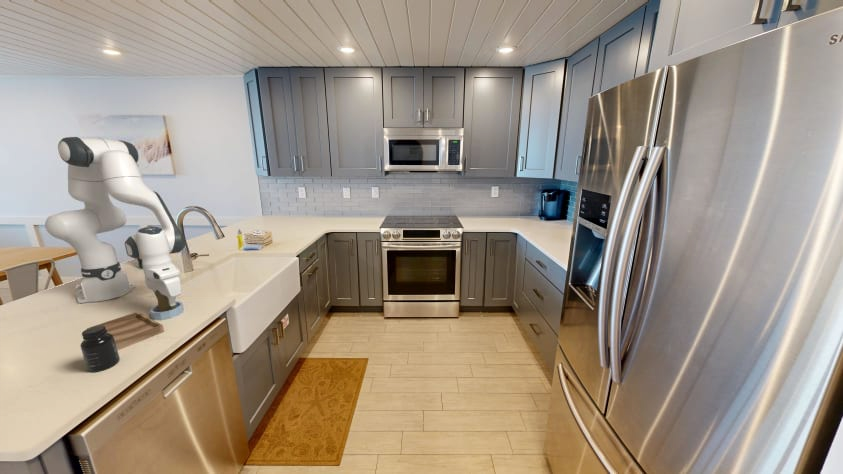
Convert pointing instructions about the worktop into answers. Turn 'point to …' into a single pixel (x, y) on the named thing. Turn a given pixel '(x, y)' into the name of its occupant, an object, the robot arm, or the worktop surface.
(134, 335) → the tray
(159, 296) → the cork
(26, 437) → the worktop surface
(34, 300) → the worktop surface
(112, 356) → the supplement bottle
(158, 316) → the light blue shallow dish
